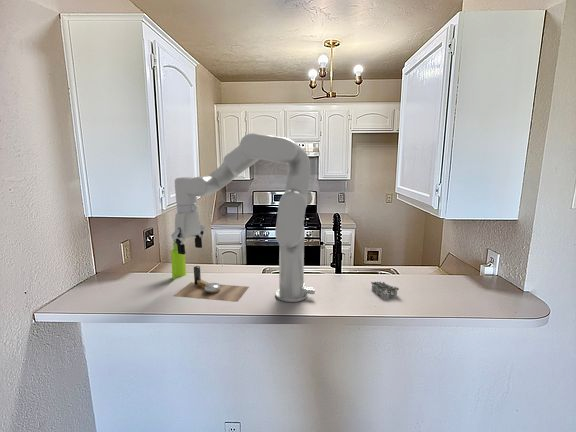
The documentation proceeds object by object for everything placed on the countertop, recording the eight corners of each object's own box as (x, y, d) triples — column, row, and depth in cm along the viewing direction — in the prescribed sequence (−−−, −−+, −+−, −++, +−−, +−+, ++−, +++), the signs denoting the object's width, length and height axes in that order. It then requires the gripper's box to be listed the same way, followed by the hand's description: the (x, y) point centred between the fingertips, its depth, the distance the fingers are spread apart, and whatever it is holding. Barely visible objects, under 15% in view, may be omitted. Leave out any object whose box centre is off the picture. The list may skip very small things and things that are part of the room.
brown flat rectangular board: (249, 290, 125) (249, 286, 125) (237, 305, 111) (237, 300, 111) (191, 285, 130) (191, 281, 129) (173, 299, 116) (173, 295, 116)
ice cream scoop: (223, 290, 120) (222, 273, 119) (210, 294, 116) (209, 277, 115) (202, 280, 131) (201, 264, 129) (189, 284, 126) (188, 268, 125)
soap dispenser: (189, 274, 142) (186, 233, 139) (182, 280, 136) (180, 236, 132) (177, 274, 143) (174, 233, 140) (170, 279, 136) (167, 236, 133)
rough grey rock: (399, 298, 118) (400, 288, 117) (382, 300, 116) (382, 290, 115) (385, 287, 128) (385, 278, 127) (369, 289, 126) (369, 280, 126)
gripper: (194, 205, 129) (197, 244, 131) (162, 211, 113) (167, 255, 116) (208, 206, 126) (211, 246, 128) (177, 212, 110) (181, 257, 113)
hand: (190, 250), depth 122 cm, fingers open, 9 cm apart
